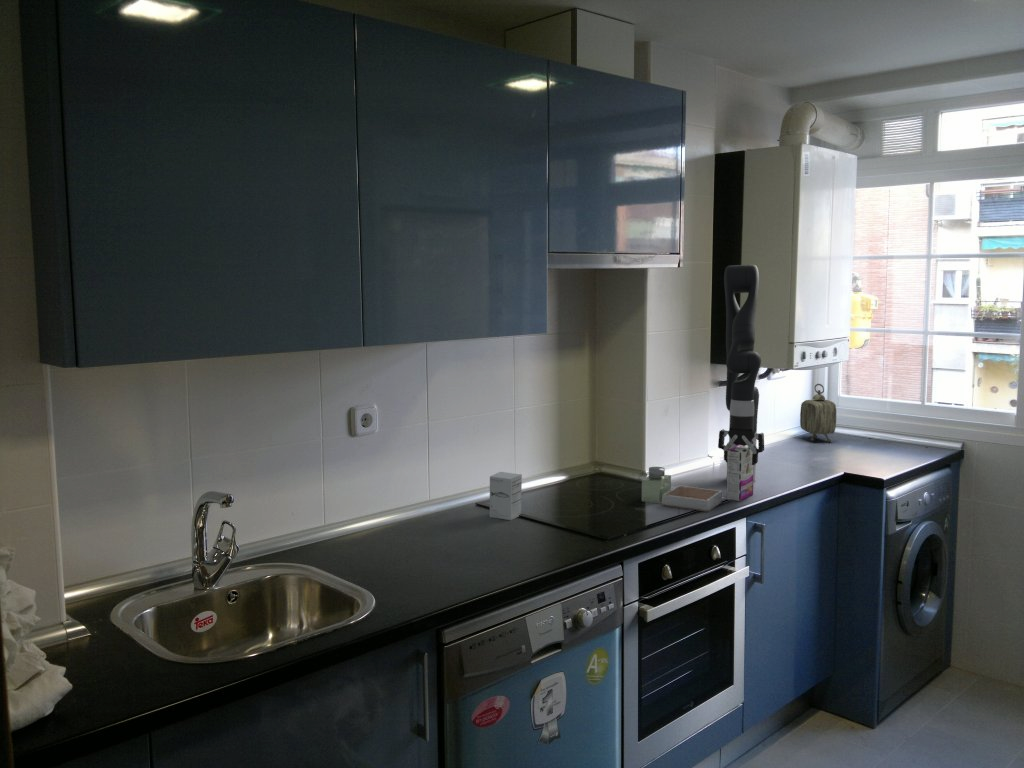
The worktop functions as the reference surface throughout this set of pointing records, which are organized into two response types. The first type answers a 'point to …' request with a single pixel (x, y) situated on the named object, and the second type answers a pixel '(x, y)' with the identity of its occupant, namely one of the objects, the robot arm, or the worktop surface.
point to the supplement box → (505, 495)
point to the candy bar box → (739, 473)
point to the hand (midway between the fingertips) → (740, 463)
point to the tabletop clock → (818, 415)
